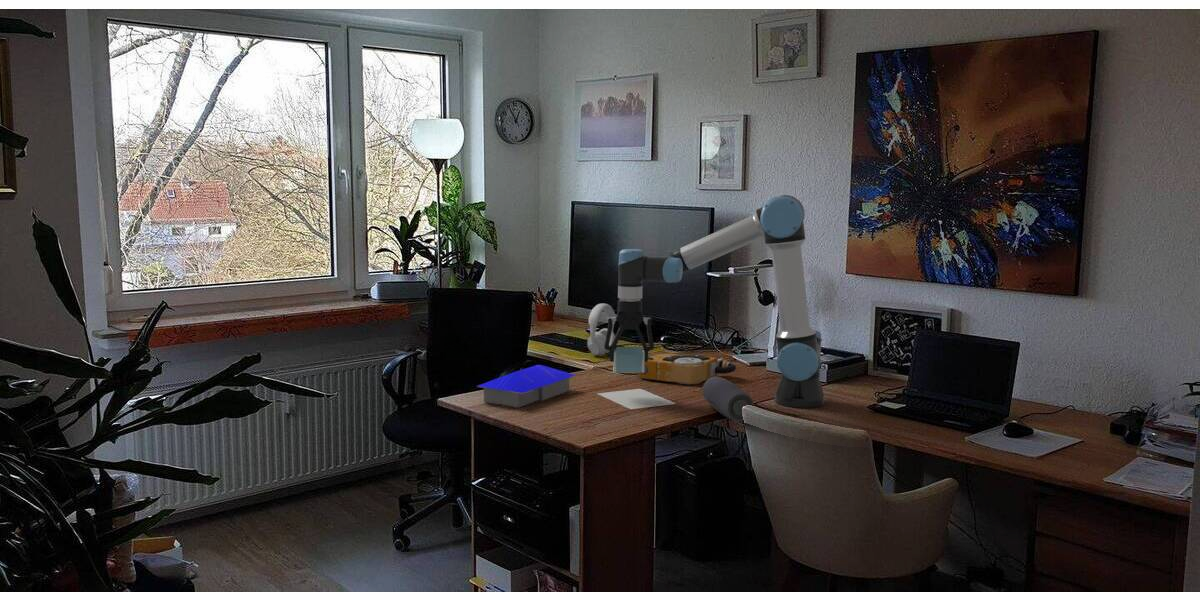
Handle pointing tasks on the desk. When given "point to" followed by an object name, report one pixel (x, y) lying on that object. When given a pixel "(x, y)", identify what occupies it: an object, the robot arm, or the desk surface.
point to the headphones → (598, 338)
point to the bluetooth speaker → (726, 397)
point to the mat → (636, 398)
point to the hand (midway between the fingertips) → (628, 371)
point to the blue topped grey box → (526, 386)
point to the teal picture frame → (628, 359)
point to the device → (684, 368)
